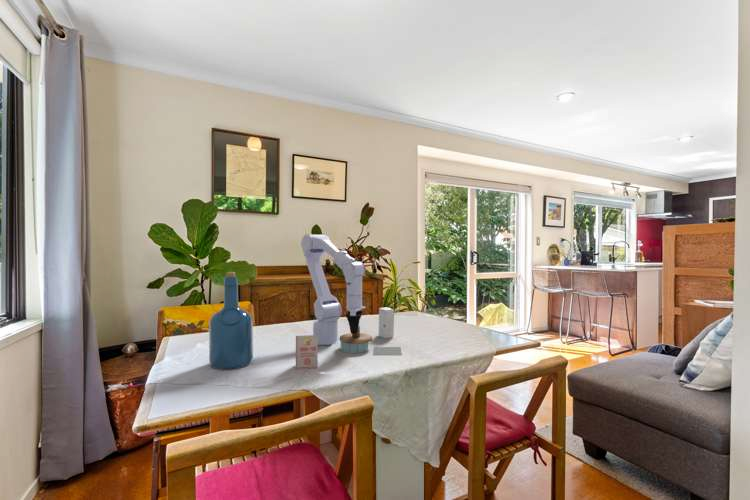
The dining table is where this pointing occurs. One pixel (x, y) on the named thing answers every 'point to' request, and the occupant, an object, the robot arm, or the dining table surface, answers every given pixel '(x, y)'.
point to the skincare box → (386, 322)
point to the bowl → (354, 347)
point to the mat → (387, 351)
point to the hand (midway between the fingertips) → (354, 331)
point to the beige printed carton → (306, 352)
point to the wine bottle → (230, 331)
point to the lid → (356, 338)
